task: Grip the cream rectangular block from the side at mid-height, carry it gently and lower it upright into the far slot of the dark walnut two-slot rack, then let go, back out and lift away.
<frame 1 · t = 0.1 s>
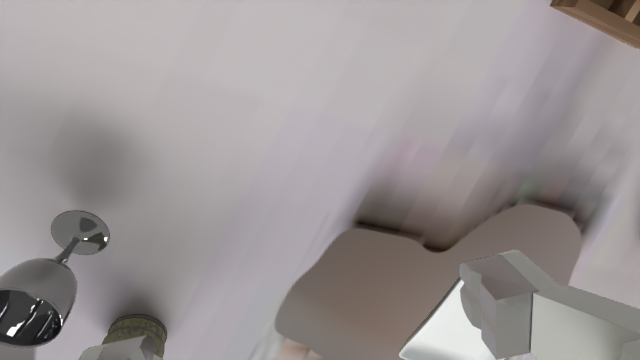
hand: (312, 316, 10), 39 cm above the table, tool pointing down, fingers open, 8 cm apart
thermos: (139, 333, 60), on the table
wine glass: (81, 232, 51), on the table
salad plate: (466, 317, 70), on the table
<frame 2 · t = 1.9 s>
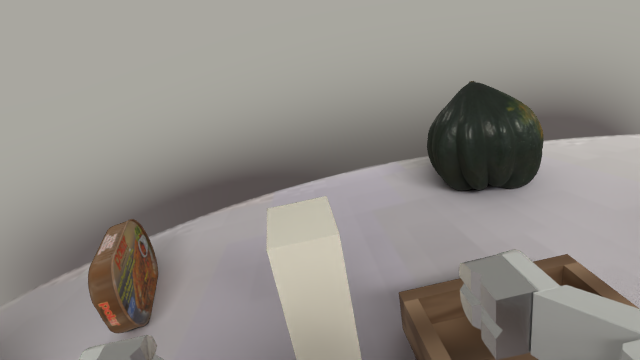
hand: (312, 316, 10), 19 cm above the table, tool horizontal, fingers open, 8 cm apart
walnut rack: (514, 349, 29), on the table
squash: (481, 182, 56), on the table
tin: (141, 302, 43), on the table
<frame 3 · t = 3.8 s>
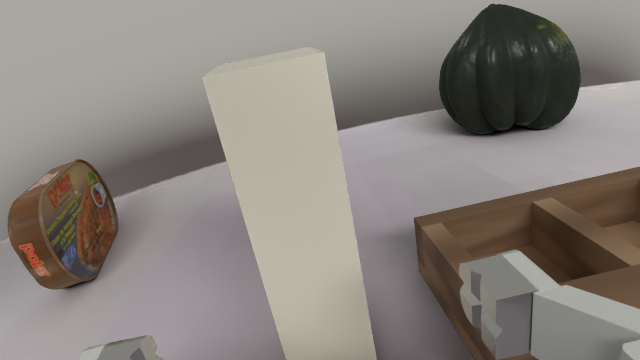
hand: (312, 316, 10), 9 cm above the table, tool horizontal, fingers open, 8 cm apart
walnut rack: (579, 288, 21), on the table
cream rectangular block: (331, 348, 20), on the table
squash: (504, 127, 47), on the table
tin: (92, 259, 35), on the table
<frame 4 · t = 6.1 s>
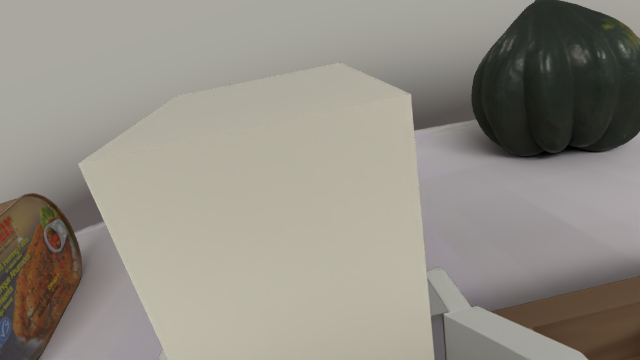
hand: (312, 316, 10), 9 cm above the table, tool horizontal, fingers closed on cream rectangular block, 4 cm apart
squash: (549, 146, 40), on the table
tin: (42, 322, 28), on the table
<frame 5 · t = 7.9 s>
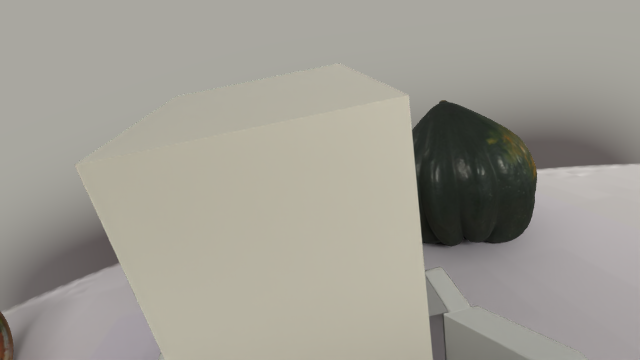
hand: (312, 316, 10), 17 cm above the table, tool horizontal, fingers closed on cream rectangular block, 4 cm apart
squash: (457, 229, 43), on the table
when the fingers open (11 cm above the table, at t = 10.2 s): cream rectangular block drops 1 cm, resting on walnut rack.
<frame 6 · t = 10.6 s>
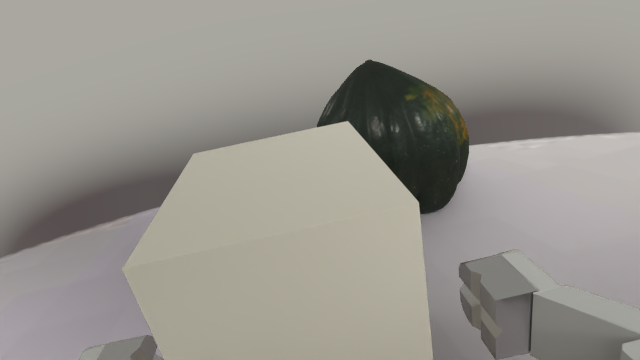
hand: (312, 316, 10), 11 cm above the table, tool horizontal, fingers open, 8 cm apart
squash: (391, 202, 40), on the table
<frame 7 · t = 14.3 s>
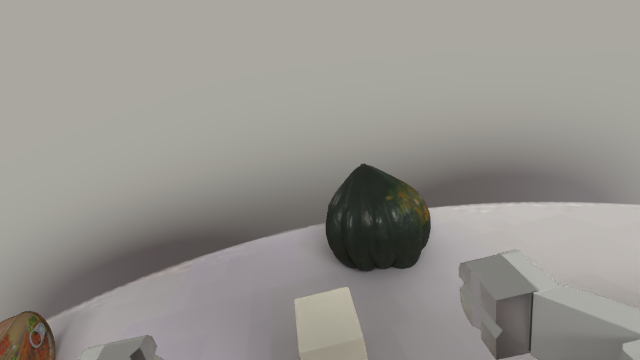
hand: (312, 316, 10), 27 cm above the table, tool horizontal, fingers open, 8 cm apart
squash: (380, 257, 57), on the table
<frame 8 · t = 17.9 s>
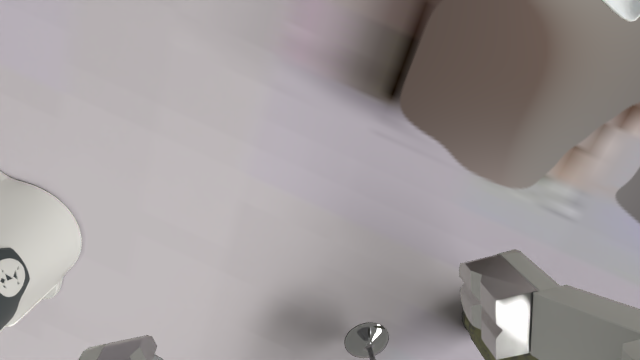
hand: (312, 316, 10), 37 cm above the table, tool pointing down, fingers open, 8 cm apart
thermos: (487, 311, 61), on the table
wine glass: (366, 339, 60), on the table
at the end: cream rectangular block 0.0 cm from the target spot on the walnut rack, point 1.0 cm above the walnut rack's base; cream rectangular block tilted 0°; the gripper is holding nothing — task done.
